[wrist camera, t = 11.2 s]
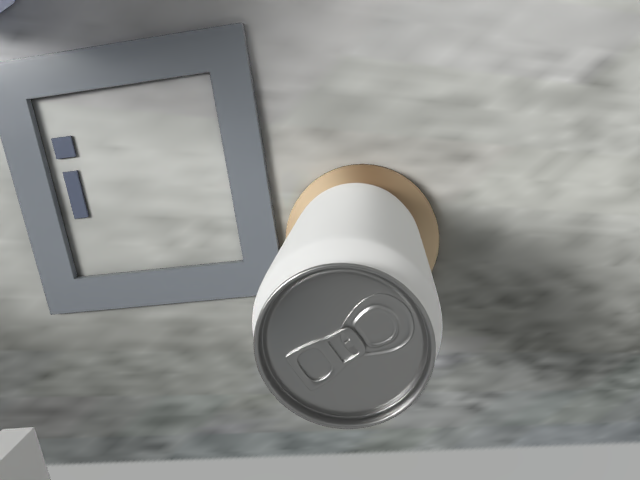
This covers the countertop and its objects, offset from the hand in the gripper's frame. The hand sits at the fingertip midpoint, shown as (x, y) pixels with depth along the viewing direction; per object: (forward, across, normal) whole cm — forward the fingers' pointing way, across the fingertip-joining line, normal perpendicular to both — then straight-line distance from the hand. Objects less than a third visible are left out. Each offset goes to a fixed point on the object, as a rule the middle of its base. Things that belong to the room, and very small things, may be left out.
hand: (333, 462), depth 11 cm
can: (+17, 0, 0) cm, 17 cm away
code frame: (+18, -11, +4) cm, 22 cm away
